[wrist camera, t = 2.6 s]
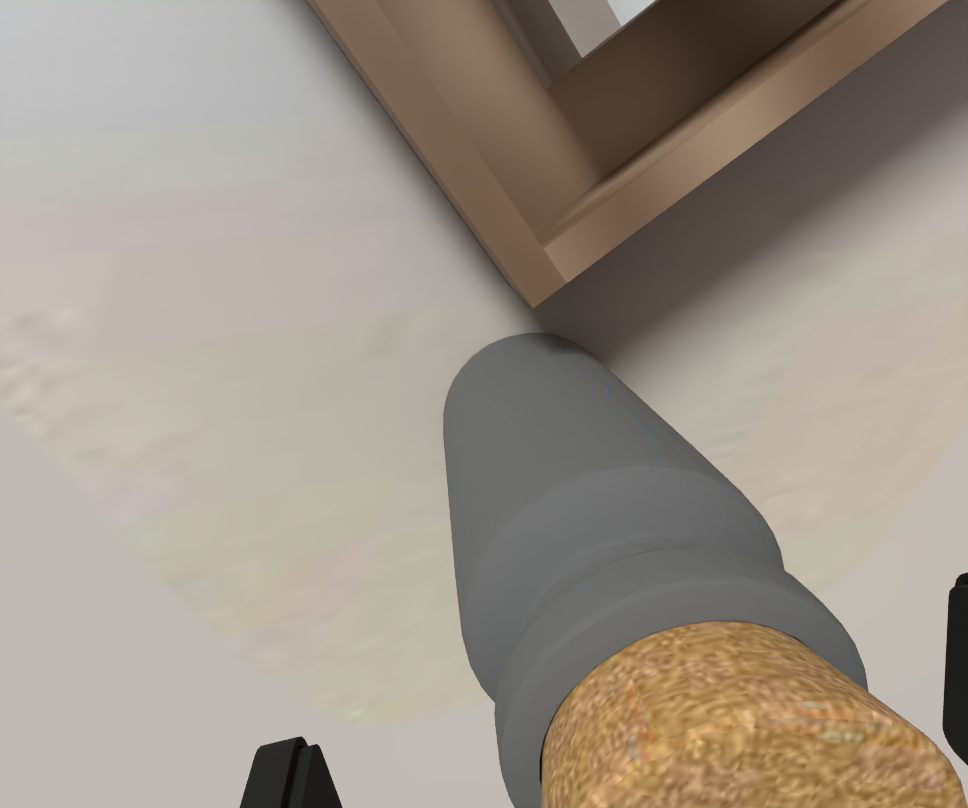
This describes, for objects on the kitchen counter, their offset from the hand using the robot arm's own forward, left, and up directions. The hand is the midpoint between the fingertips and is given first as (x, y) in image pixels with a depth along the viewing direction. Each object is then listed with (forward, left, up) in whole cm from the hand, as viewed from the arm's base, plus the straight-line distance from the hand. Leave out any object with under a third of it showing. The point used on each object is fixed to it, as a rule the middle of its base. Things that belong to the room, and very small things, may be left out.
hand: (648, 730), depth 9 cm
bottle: (0, 0, -13) cm, 13 cm away
